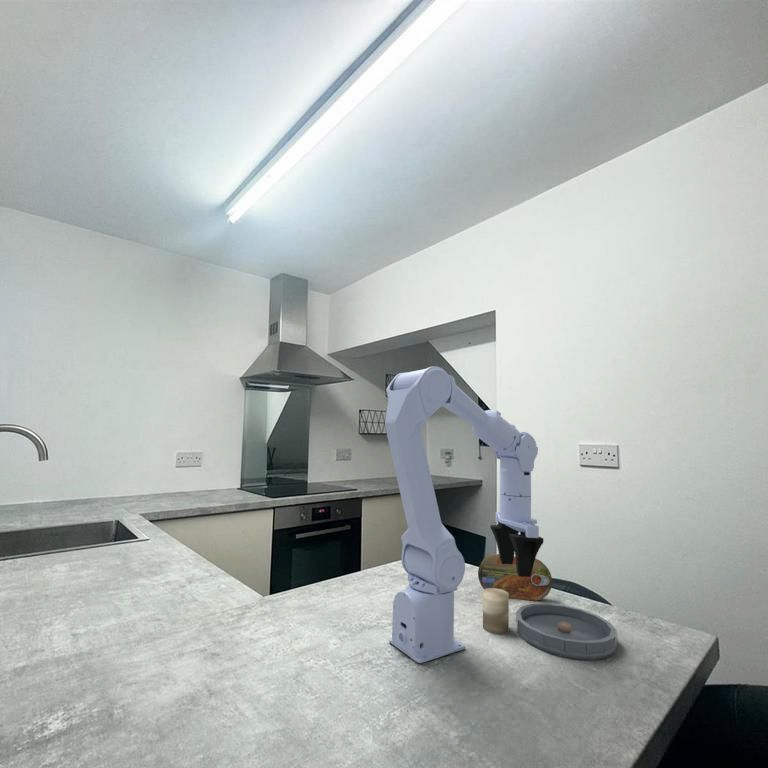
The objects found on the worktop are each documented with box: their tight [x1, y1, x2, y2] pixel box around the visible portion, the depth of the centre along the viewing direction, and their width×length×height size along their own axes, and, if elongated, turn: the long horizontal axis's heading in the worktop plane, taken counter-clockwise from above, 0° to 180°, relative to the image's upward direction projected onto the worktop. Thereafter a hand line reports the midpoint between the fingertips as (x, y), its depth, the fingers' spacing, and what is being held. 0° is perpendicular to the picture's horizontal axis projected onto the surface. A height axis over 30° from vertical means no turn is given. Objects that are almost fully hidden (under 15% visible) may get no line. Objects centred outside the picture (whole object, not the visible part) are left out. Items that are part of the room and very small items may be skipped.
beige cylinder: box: [482, 588, 510, 635], centre depth 74 cm, size 4×4×6 cm
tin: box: [477, 553, 553, 602], centre depth 90 cm, size 15×3×8 cm, turn 75°
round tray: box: [515, 602, 618, 661], centre depth 71 cm, size 16×16×2 cm
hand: (515, 569), depth 78 cm, fingers open, 7 cm apart
